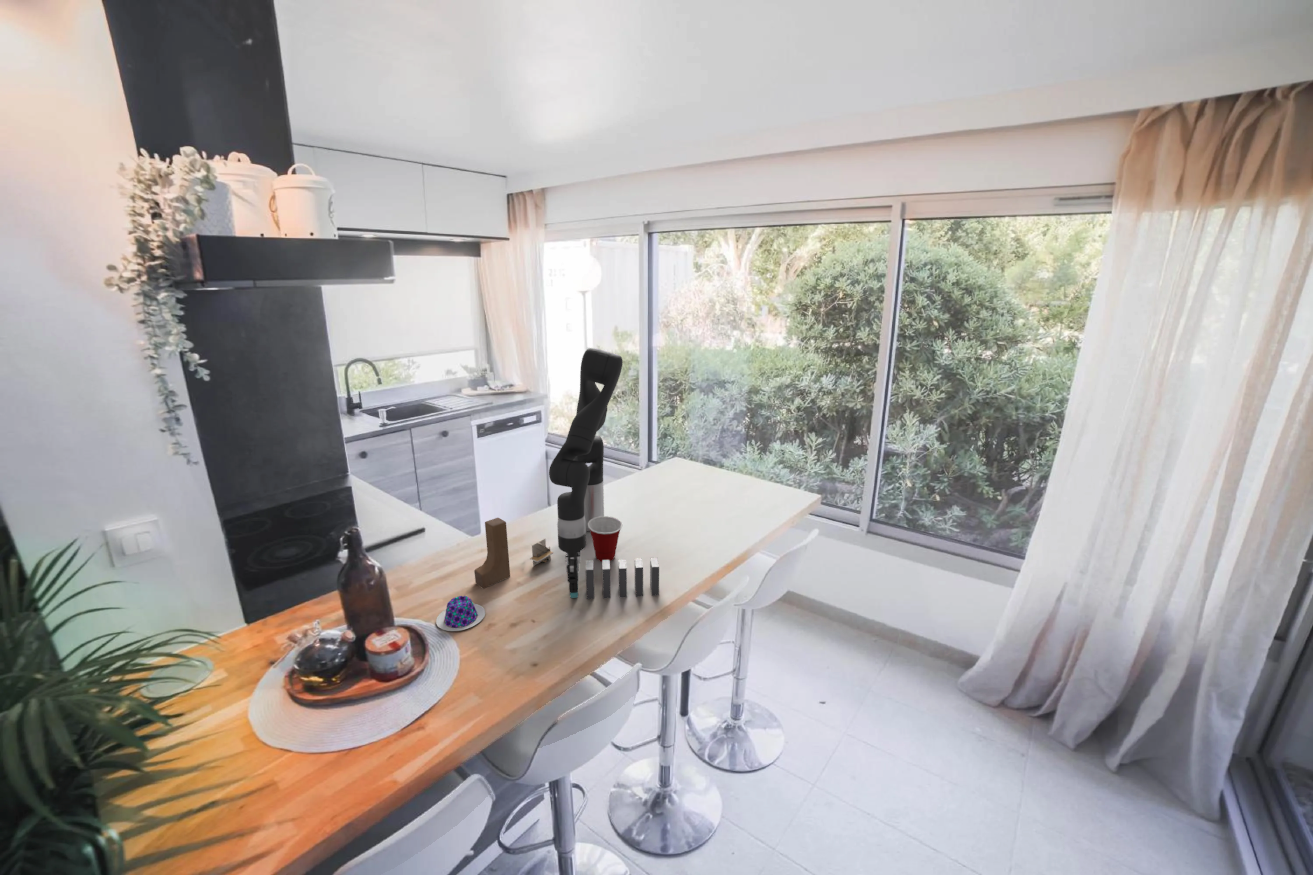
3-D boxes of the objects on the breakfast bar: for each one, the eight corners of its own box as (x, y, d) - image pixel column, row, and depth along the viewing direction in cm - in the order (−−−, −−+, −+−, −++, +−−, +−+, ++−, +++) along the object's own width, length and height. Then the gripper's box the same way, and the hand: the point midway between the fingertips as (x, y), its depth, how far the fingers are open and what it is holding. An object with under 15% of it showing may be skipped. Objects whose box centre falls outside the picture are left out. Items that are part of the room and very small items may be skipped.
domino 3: (603, 598, 148) (602, 569, 145) (603, 588, 152) (602, 560, 150) (610, 597, 148) (609, 568, 145) (610, 587, 153) (609, 559, 150)
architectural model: (554, 562, 167) (553, 541, 165) (538, 572, 161) (536, 550, 159) (546, 559, 169) (545, 538, 167) (530, 568, 163) (528, 546, 161)
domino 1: (570, 597, 146) (569, 568, 144) (571, 587, 151) (569, 559, 149) (577, 597, 147) (576, 568, 144) (578, 587, 151) (577, 559, 149)
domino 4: (619, 597, 148) (619, 568, 145) (618, 587, 153) (618, 559, 150) (626, 597, 148) (626, 568, 146) (625, 587, 153) (625, 559, 150)
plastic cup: (603, 570, 162) (603, 534, 158) (581, 557, 169) (580, 523, 166) (630, 557, 169) (629, 523, 166) (607, 546, 176) (607, 512, 173)
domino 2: (586, 599, 147) (585, 569, 145) (587, 589, 152) (586, 560, 149) (594, 598, 147) (593, 569, 145) (594, 588, 152) (593, 560, 150)
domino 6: (651, 595, 149) (651, 566, 146) (650, 585, 154) (650, 557, 151) (658, 595, 149) (659, 566, 147) (657, 585, 154) (657, 557, 151)
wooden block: (482, 589, 151) (477, 531, 146) (475, 583, 154) (469, 526, 149) (510, 577, 158) (506, 521, 153) (502, 571, 161) (498, 516, 155)
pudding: (488, 625, 136) (487, 607, 134) (438, 638, 131) (436, 620, 129) (481, 601, 146) (479, 584, 145) (434, 612, 141) (432, 595, 140)
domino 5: (635, 596, 149) (635, 567, 146) (634, 586, 153) (634, 558, 151) (643, 596, 149) (643, 567, 146) (641, 586, 154) (641, 558, 151)
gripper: (585, 542, 137) (587, 600, 142) (586, 518, 151) (588, 572, 156) (555, 543, 136) (558, 602, 141) (559, 520, 150) (562, 573, 155)
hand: (574, 586), depth 148 cm, fingers closed on domino 1, 4 cm apart
